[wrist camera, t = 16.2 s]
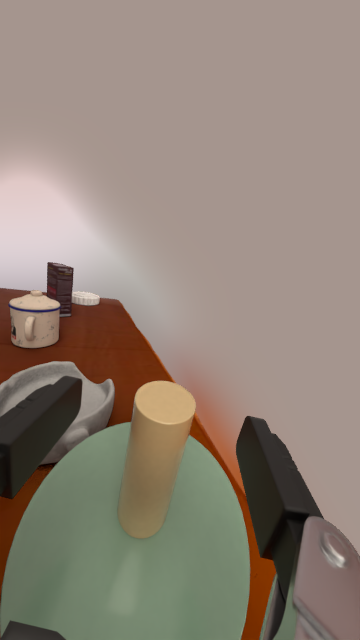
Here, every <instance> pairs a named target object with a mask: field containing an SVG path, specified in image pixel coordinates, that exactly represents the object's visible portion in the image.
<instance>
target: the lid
mask: <svg viewBox="0 0 360 640" xmlns="http://www.w3.org/2000/svg"><path fill="white" fill-rule="evenodd" d="M195 410H196V404H195V400H194V398H193V396H192V395H191V394H190V392H189V391H188V390H186V389H185V388H183V387H182V386H180V385H178V384H175V383H172V382H168V381H153V382H149V383H147V384H145V385H143V386H142V387H140V388H139V390H138V391H137V393H136V395H135V400H134V406H133V412H132V418H131V422H126V423H122V424H118V425H114V426H111V427H109V428H106V429H104V430H101V431H99V432H97V433H95V434H93V435H92V436H90V437H88V438H87V439H85V440H84V441H82V442H81V443H80V444H78V445H77V446H75V447H74V448H73V449H72V450H71V451H70V452H68V453H67V454H66V455H65V456H64V457H63V458H62V459H61V460H60V461H59V462H58V463H57V464H56V465H55V467H54V468H53V469H52V470H51V471H50V473H49V474H48V475H47V477H46V478H45V479H44V480H43V482H42V483H41V485H40V486H39V488H38V489H37V491H36V493H35V494H34V496H33V497H32V499H31V501H30V503H29V505H28V507H27V509H26V510H25V512H24V514H23V517H22V519H21V521H20V524H19V526H18V529H17V531H16V533H15V536H14V539H13V542H12V546H11V549H10V552H9V555H8V559H7V563H6V568H5V573H4V578H3V584H2V591H1V604H0V639H1V637H2V635H3V633H4V631H5V629H6V627H7V625H8V623H9V622H10V620H11V621H15V622H19V623H24V624H28V625H32V626H36V627H41V628H45V629H49V630H53V631H57V632H58V633H59V634H61V635H62V636H63V637H64V638H65V639H66V640H241V637H242V633H243V629H244V625H245V621H246V614H247V607H248V599H249V586H250V560H249V546H248V540H247V533H246V527H245V523H244V519H243V515H242V511H241V508H240V505H239V502H238V499H237V496H236V494H235V492H234V490H233V487H232V485H231V483H230V481H229V479H228V478H227V476H226V474H225V472H224V471H223V469H222V468H221V466H220V465H219V463H218V462H217V461H216V459H215V458H214V457H213V456H212V454H211V453H210V452H209V451H208V450H207V449H206V448H205V447H204V446H203V445H202V444H200V443H199V442H198V441H197V440H196V439H194V438H193V437H191V436H190V435H189V432H190V429H191V425H192V421H193V417H194V414H195Z"/></svg>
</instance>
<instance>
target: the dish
mask: <svg viewBox="0 0 360 640" xmlns="http://www.w3.org/2000/svg"><path fill="white" fill-rule="evenodd" d="M65 375H66V376H71V377H76V378H80V379H82V381H83V385H82V398H81V408H80V411H79V413H78V415H77V417H76V419H75V420H74V421H73V423H72V424H71V425H70V426H69V428H68V429H67V430H66V432H65V433H64V434H63V435H62V437H61V438H60V439H59V440H58V442H57V443H56V444H55V446H54V447H53V448H52V449H51V451H50V452H49V453H48V454H47V456H46V457H45V458H44V460H43V461H42V462H41V463H40V464H48V463H55V462H59V461H60V460H61V459H62V458H63V457H64V456H65V455H66V454H67V453H68V452H70V451H71V450H72V449H73V448H74V447H75V446H77V445H78V444H80V443H81V442H82V441H84V440H85V439H87V438H88V437H90V436H92V435H93V434H95V433H97V432H99V431H101V430H104V429H105V428H106V425H107V423H108V421H109V418H110V416H111V413H112V409H113V404H114V396H115V389H114V384H113V382H112V380H111V379H107V380H106V381H105V382H104V383H102V384H94V383H92V382H91V381H89V380H88V379H87V378H86V377H85V376H84V375H83V374H82V373H81V372H80V371H79V370H78V368H77V367H76V366H75V364H74V363H72V362H58V361H53V362H50V363H46V364H41V365H37V366H34V367H31V368H28V369H26V370H23V371H20V372H18V373H16V374H14V375H13V376H12V377H11V378H10V379H9V380H7V381H5V382H3V383H2V384H1V385H0V417H1V416H2V415H4V414H5V413H6V412H7V411H9V410H10V409H11V408H13V407H15V406H16V405H17V404H18V403H19V402H21V401H22V400H24V399H25V398H26V397H27V396H28V395H30V394H31V393H32V392H34V391H35V390H36V389H39V388H41V387H43V386H45V385H48V384H54V383H56V382H57V381H58V380H59V379H60V378H62V377H63V376H65Z"/></svg>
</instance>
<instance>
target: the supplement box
mask: <svg viewBox="0 0 360 640" xmlns="http://www.w3.org/2000/svg"><path fill="white" fill-rule="evenodd" d="M47 271H48V272H47V297H48V298H50V299H53V300H56V301H58V302H59V303H60V306H61V308H60V310H59V317H66V316H71V305H72V287H73V286H72V285H73V268H71V267H68V266H66V265H63V264H58V263H50V262H48V269H47Z"/></svg>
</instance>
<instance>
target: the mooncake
mask: <svg viewBox="0 0 360 640" xmlns="http://www.w3.org/2000/svg"><path fill="white" fill-rule="evenodd" d="M99 300H100V297H99V296H98V295H97V294H94V293H89V292H82V291H80V292H72V303H74V304H79V305H97V304H99Z"/></svg>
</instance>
